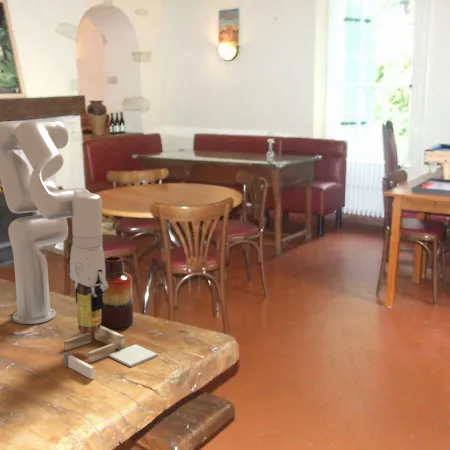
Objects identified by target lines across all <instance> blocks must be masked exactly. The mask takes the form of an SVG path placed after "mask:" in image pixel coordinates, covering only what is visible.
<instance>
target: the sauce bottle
mask: <svg viewBox="0 0 450 450" xmlns="http://www.w3.org/2000/svg"><path fill="white" fill-rule="evenodd" d="M96 284H98V283H97V282H96ZM95 289H96V291H97V289H98V286H96V287H95ZM91 296H93V294H92V290H91V287H87V286H84V285H82V284H80V283H78V291H77V303H76V305H77V307H76V308H77V312H76V315H77V316H76V318H77V329H78V330H79V331H80V332H82V333H88V332H89V333H93V332H94V333H95V331H97V330H99V329H100V326H101V309H99V310H96V311H92V309H91Z"/></svg>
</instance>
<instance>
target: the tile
mask: <svg viewBox="0 0 450 450" xmlns="http://www.w3.org/2000/svg"><path fill="white" fill-rule="evenodd" d="M108 357H109V358H112V359H113V360H115V361H117V362H119V363H121V364H124V365H125V366H127V367H130V368H132V367H134V366H137V365H139V364H141V363H144V362H147V361H149V360H151V359H154V358H156V357H158V353H156V352H155V351H152V350H150V349H147V348H145V347H143V346H140V345H138V344H132V345H131V346H128V347H125V349H122V350H117V351H115V352H114V353H112V354H109V356H108Z"/></svg>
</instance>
